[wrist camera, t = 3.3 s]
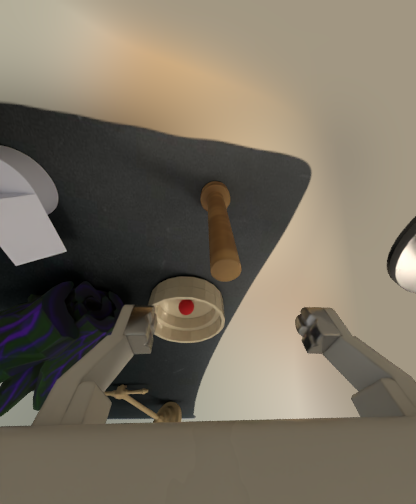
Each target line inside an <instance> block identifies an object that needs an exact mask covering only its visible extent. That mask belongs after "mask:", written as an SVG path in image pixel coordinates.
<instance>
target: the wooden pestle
mask: <svg viewBox="0 0 416 504" xmlns="http://www.w3.org/2000/svg"><path fill="white" fill-rule="evenodd" d="M229 203H230V194H229V191H228V189H227V187H226V186H225V185H224V184H223V183H221V182H218V181H212V182H209V183H208V184H206V185H205V186H204V187H203V189H202V191H201V204H202V206H203V208H204V209H205V210H206V211H208V227H209V249H210V271H211V275H212V276H213V277H214V278H215V279H216V280H219V281H224V282H225V281H231V280H234V279H235V278H237V277H238V276H239V275H240V273H241V264H240V260H239V256H238V252H237V248H236V245H235V241H234V237H233V233H232V229H231V225H230V221H229V217H228V213H227V209H226V208H227V207H228V205H229Z"/></svg>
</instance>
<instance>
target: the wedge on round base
mask: <svg viewBox="0 0 416 504" xmlns="http://www.w3.org/2000/svg"><path fill="white" fill-rule="evenodd" d="M57 204H58V193H57V189H56V187H55V184H54V183H53V181H52V179H51V178H50V176H49V175H48V174H47V172H46V171H45V170H44V169H43V168H42V167H41V166H40V165H39V164H38V163H37V162H35V161H34V160H33V159H31V158H30V157H28V156H27V155H25V154H24V153H22V152H20V151H18V150H15V149H13V148H10V147H7V146H1V145H0V247H1V248H2V249H3V251H4V252H5V253H6V254H7V256H8V257H9V258H10V259H11V261H12V262H13V263H14V264H15V266H17V265H21V264H25V263H28V262H32V261H35V260H39V259H42V258H46V257H49V256H53V255H56V254H60V253H63V252H67V251H66V249H65V247H64V245H63V243H62V241H61V239H60V237H59V236H58V234H57V232H56V230H55V228H54V226H53V224H52V223H51V221H50V219H49V217H48V214H50V213H51V212H53V211H54V210H55V209H56V207H57Z"/></svg>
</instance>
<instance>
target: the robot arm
mask: <svg viewBox="0 0 416 504" xmlns="http://www.w3.org/2000/svg"><path fill="white" fill-rule="evenodd" d="M156 325H157V315H156V314H155V306H154V305H124V306H123V308H122V310H121V312H120V314H119V317H118V319H117V322H116V324H115V326H114V329H113V331H112V333H111V335H107V336H106V337H105V338H104V339H103V340H102V341H100V342H99V343H98V344H97V345H96V346H95V347H94V348H93V349H91V350H90V351H89V352H88V353H87V354H86V355H85V356H84V357H82V358H81V359H80V360H79V361H78V362H77V363H76V364H74V365H73V366H72V367H71V368H70V369H69V370H68V371H67V372H65V373H64V374H63V375H62V376H61V377H60V378H59V379H57V380H56V382H55V384H54V386H53V388H52V389H51V391H50V393H49V395H48V396H47V398H46V400H45V402H44V404H43V405H42V407H41V409H40V411H39V412H38V414H37V416H36V418H35V420H34V421H33V423H32V425H31V426H4V427H3V426H2V427H0V504H416V382H415V381H414V379H413V378H412V377H411V376H410V375H408V374H407V373H405V372H404V371H403V370H401V369H400V368H398V367H397V366H395V365H394V364H393V363H392V362H390V361H388V360H387V359H386V358H385V357H383V356H382V355H380V354H379V353H378V352H376V351H375V350H374V349H372V348H371V347H369V346H368V345H366V344H365V343H364V342H362V341H361V340H360V339H358V338H357V337H355V336H352V335H351V333H350V332H349V331H348V329H347V328H346V326H345V325H344V323H343V322H342V320H341V319H340V318H339V316H338V315H337V313H336V312H335V311H334V310H333V309H332V308H319V307H312V308H310V307H309V308H308V307H305V308H302V310H301V314H300V315H298V316H297V318H296V320H295V325H296V329H297V331H298V333H299V334H300V335H301V336H302V337H303V338H302V342H303V344H304V346H305V349H306V351H307V353H316V354H317V353H319V354H323V355H324V356H325V357H326V358H327V359H328V360H329V361H330V362H331V363H332V365H333V366H334V367H335V368H336V369H337V370H338V371H339V372H340V373H341V374H342V375H343V376H344V377H345V378H346V379H347V380H348V381H349V382H350V383H351V384H352V385H353V386H354V387H355V388H356V389H357V390H358V391H359V392H357V393H356V394H354V395H352V398H351V399H352V401H353V403H354V405H355V407H356V409H357V411H358V413H359V415H360V416H361V417H353V418H315V419H314V418H313V419H276V420H275V419H274V420H240V421H239V420H236V421H202V422H201V421H197V422H158V423H121V424H106V420H107V417H108V414H109V410H110V407H111V404H112V403H111V401H110V399H109V398H108V397H107V396H106V395H105V393H104V391H105V390H106V389H107V388H108V386H109V385H110V384H111V383H112V381H113V380H114V379H115V378H116V376H117V375H118V374H119V373H120V371H121V370H122V369H123V368H124V366H125V365H126V364H127V363H128V361H129V360H130V359H131V358H132V356H133V354H151V349H152V345H153V336H152V335H153V334H154V333H155V331H156Z"/></svg>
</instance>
